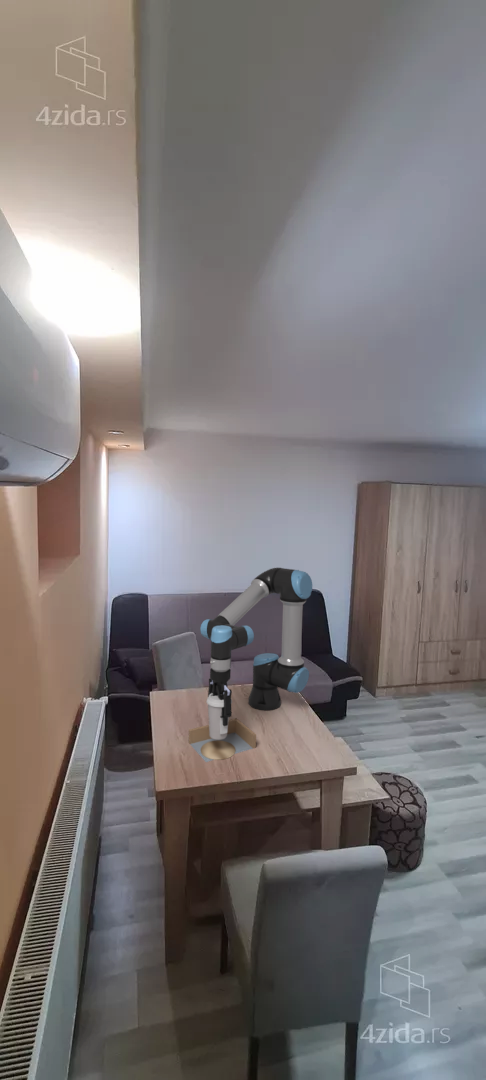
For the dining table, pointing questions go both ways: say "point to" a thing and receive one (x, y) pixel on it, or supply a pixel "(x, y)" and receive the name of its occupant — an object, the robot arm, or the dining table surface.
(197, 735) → the tray
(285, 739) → the dining table surface
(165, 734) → the dining table surface
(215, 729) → the coffee cup
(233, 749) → the pad
